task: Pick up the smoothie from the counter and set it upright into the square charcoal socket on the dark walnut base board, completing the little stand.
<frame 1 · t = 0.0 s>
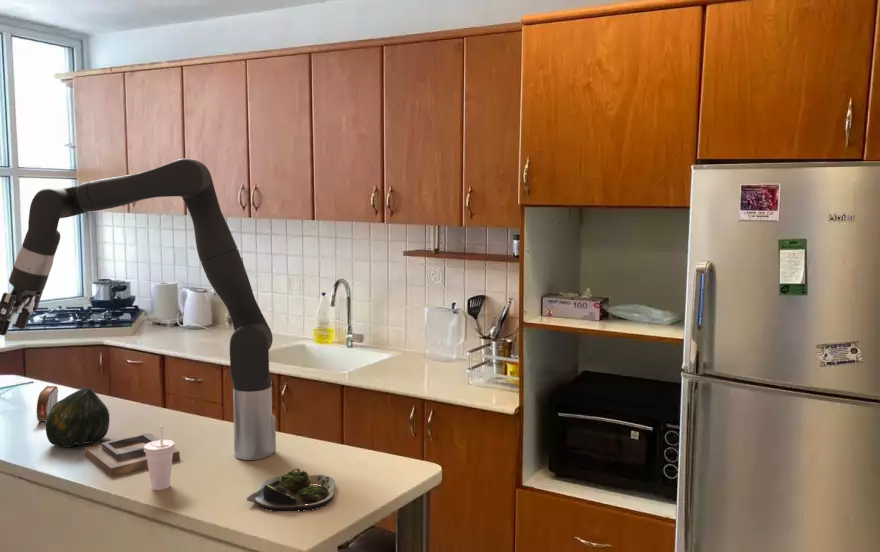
hand: (10, 330, 165), 31 cm above the counter, tool tilted 20°, fingers open, 8 cm apart
squash: (79, 443, 180), on the counter
smoothie: (160, 487, 153), on the counter
salad plate: (294, 498, 149), on the counter
base board: (132, 457, 170), on the counter
tin: (48, 417, 200), on the counter
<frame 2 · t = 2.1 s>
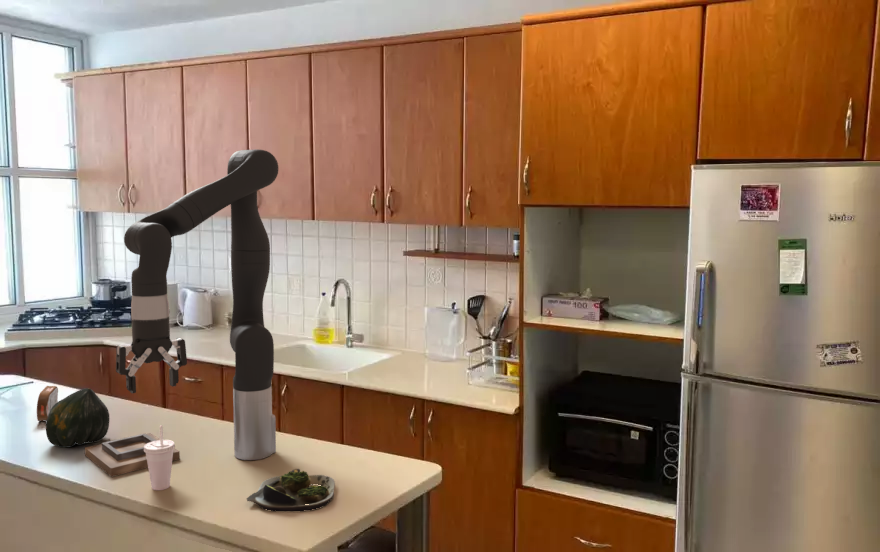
hand: (153, 389, 150), 22 cm above the counter, tool pointing down, fingers open, 8 cm apart
nothing on the counter moved.
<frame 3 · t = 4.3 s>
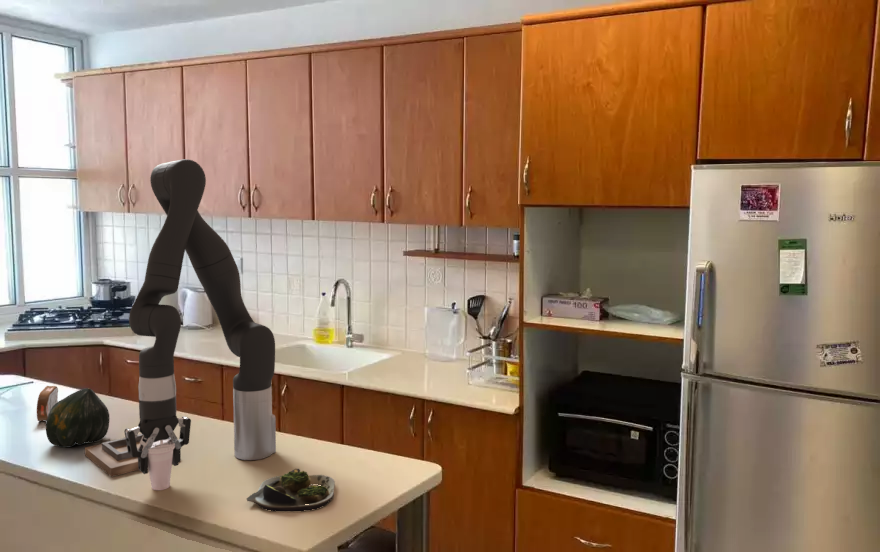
hand: (159, 468, 152), 4 cm above the counter, tool pointing down, fingers closed on smoothie, 6 cm apart
smoothie: (160, 487, 153), on the counter, touching gripper
everything else where it was.
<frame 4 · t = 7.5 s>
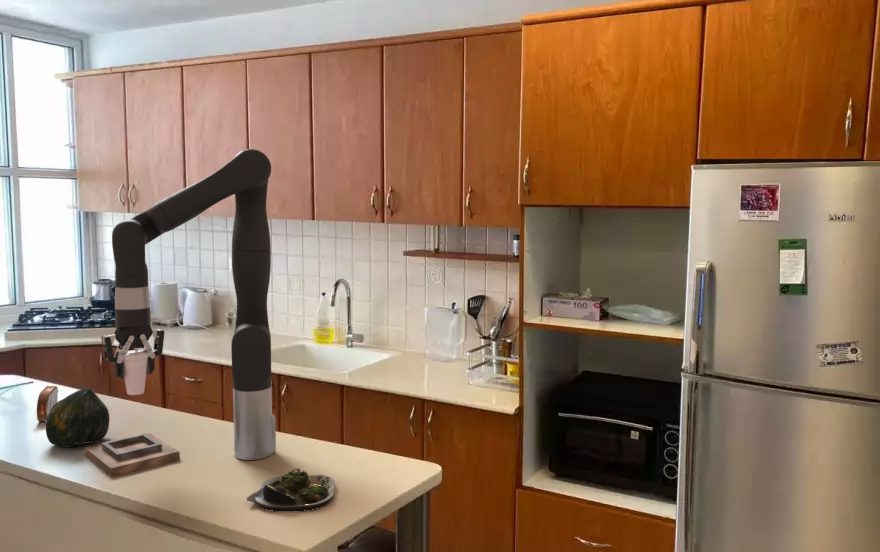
hand: (134, 375, 163), 22 cm above the counter, tool pointing down, fingers closed on smoothie, 6 cm apart
smoothie: (135, 393, 163), point 17 cm above the counter, touching gripper
everything else where it was.
when the fingers open (7 cm above the counter, at t = 10.3 s): smoothie stays where it is, resting on base board.
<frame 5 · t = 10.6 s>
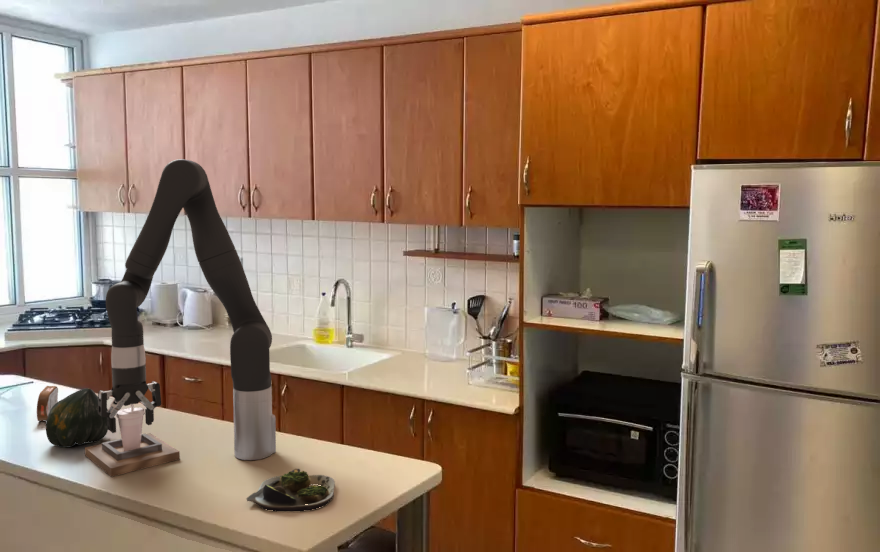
hand: (131, 428, 169), 7 cm above the counter, tool pointing down, fingers open, 8 cm apart
smoothie: (132, 450, 169), point 2 cm above the counter, touching base board
everything else where it was.
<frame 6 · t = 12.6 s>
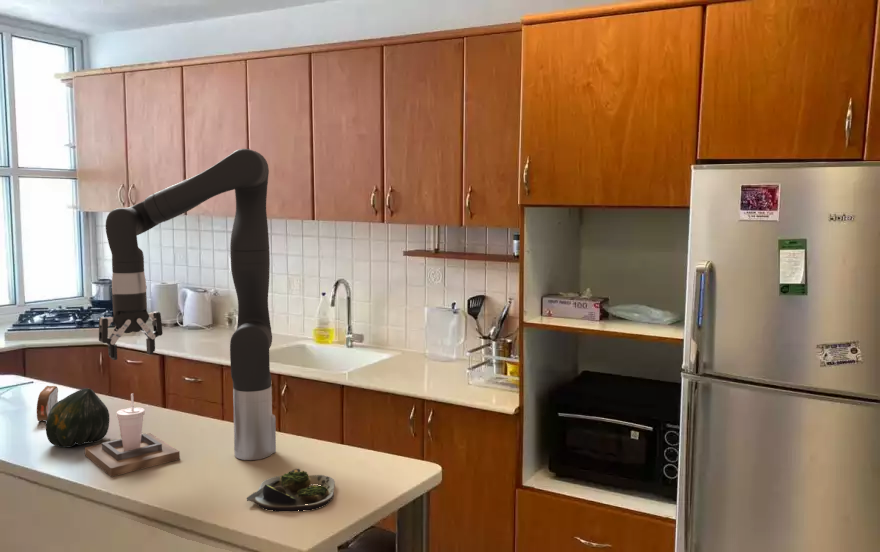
hand: (132, 356, 168), 25 cm above the counter, tool pointing down, fingers open, 8 cm apart
nothing on the counter moved.
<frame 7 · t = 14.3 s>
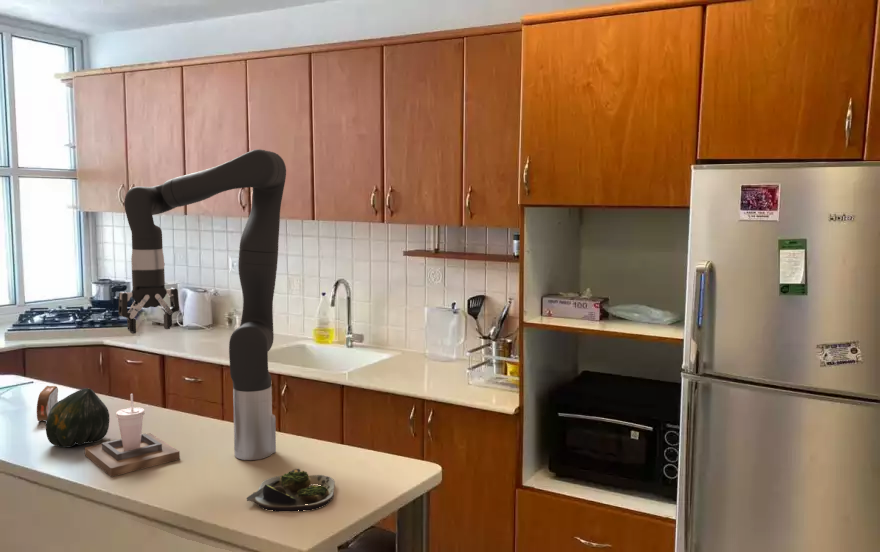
hand: (150, 331, 174), 30 cm above the counter, tool pointing down, fingers open, 8 cm apart
nothing on the counter moved.
at the end: smoothie 0.0 cm off-centre on the base board, point 1.8 cm above the base board's base; smoothie tilted 0°; the gripper is holding nothing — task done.
